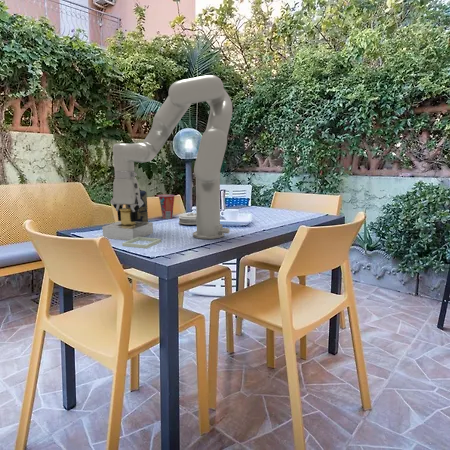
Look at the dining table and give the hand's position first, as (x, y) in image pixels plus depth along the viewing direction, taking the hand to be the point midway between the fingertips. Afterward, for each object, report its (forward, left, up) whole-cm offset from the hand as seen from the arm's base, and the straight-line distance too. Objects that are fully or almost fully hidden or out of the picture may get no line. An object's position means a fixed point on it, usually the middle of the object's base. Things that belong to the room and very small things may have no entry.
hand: (127, 220), depth 141 cm
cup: (+7, -43, -7) cm, 44 cm away
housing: (0, 0, -7) cm, 7 cm away
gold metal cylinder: (0, 0, -5) cm, 5 cm away
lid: (-12, -34, -7) cm, 37 cm away
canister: (+6, -15, -7) cm, 17 cm away
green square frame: (-13, +10, -7) cm, 18 cm away
